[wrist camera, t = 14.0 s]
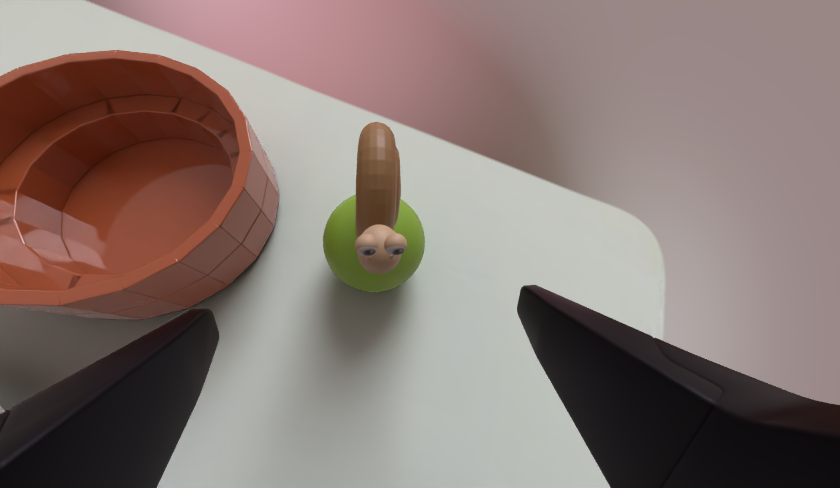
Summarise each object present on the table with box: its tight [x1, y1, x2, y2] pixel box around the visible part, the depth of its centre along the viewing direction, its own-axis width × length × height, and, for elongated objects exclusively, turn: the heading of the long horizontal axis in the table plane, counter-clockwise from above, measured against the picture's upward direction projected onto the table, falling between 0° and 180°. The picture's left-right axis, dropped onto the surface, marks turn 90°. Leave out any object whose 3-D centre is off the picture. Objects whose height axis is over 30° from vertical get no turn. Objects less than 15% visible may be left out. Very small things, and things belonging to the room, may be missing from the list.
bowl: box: [0, 50, 279, 319], centre depth 16 cm, size 13×13×5 cm
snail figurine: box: [323, 122, 425, 292], centre depth 13 cm, size 5×6×12 cm
